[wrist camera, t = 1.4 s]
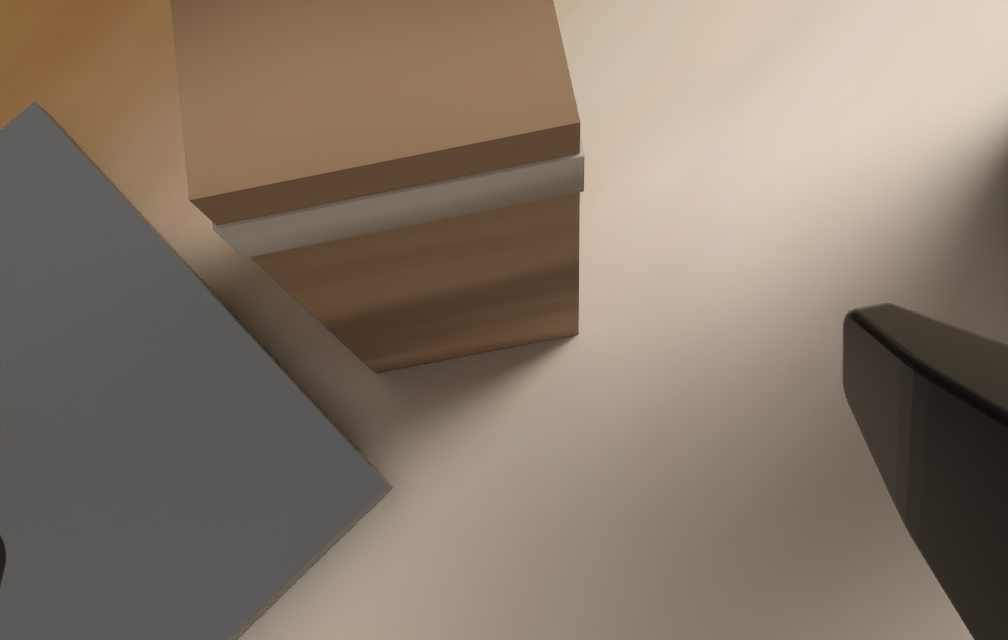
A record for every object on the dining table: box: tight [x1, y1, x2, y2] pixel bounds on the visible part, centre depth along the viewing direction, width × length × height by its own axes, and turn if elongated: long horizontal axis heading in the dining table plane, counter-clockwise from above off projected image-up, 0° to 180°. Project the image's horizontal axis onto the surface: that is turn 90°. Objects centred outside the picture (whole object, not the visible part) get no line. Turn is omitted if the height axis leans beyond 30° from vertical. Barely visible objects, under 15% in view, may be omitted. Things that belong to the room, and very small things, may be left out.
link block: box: [171, 0, 584, 373], centre depth 17 cm, size 5×5×11 cm
